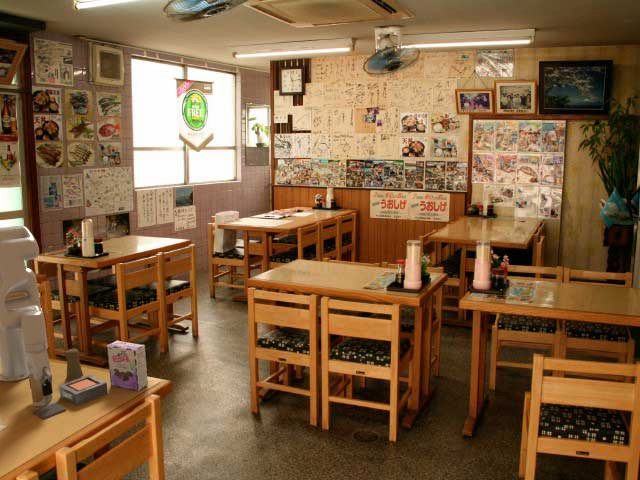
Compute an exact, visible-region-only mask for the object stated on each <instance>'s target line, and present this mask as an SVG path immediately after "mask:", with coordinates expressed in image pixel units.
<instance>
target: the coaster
mask: <svg viewBox="0 0 640 480" xmlns="http://www.w3.org/2000/svg"><path fill="white" fill-rule="evenodd" d="M66 411H67V408H65V407H63V406H62V405H60V404H59V403H57V402H53V403H51V404H48V405H47V404H46V405H45V406H41V407H39V408H37V409H34V410H32V414H34V415H36V416H37V417H39V418H40V419H42V420H45V419H46V420H47V418H51V417H53V416H56V415H58V414H61V413H64V412H66Z"/></svg>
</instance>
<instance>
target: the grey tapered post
mask: <svg viewBox="0 0 640 480" xmlns="http://www.w3.org/2000/svg"><path fill="white" fill-rule="evenodd" d="M64 356H65V359H66V379H67V380H77V379H79V378H82V377H84V373H83V370H82V365H81V362H80V358H79V357H80V351H79V350H78V349H77V348H70V349H68V350H65V353H64Z"/></svg>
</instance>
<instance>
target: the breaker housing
mask: <svg viewBox="0 0 640 480" xmlns="http://www.w3.org/2000/svg"><path fill="white" fill-rule="evenodd" d="M86 379H88V380H90V381H92V382H94V383H96V384H97V385H94V386H92V387H89V388H86V389H84V390H81V391H78V392H77V391H75V390H73V389H71V388H69V385H72V384H75V383H78V382H80V381H83V380H86ZM58 387H59V388H58V389H59V397H60V398H61V399H63V400H64V401H67V403H70V404H72V405H74V406H76V407H79V406H82V405H83V404H87V403H89V402H91V401H94V400H96V399H99V398H102V397H104V396H107V395H108V394H109V391H108V383H107V382H106V381H104V380H102V379H100V378H98V377H95V376H94V375H91V374H88V375H85V376H82V377H80V378H77V379H73V380H71V381H69V382H65V383H63V384H61V385H58Z"/></svg>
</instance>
